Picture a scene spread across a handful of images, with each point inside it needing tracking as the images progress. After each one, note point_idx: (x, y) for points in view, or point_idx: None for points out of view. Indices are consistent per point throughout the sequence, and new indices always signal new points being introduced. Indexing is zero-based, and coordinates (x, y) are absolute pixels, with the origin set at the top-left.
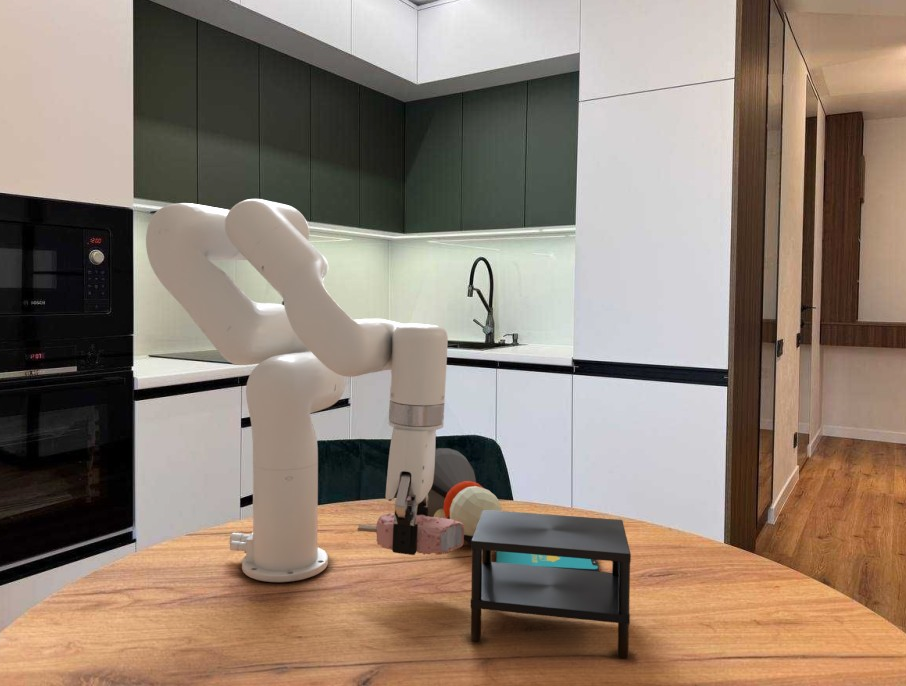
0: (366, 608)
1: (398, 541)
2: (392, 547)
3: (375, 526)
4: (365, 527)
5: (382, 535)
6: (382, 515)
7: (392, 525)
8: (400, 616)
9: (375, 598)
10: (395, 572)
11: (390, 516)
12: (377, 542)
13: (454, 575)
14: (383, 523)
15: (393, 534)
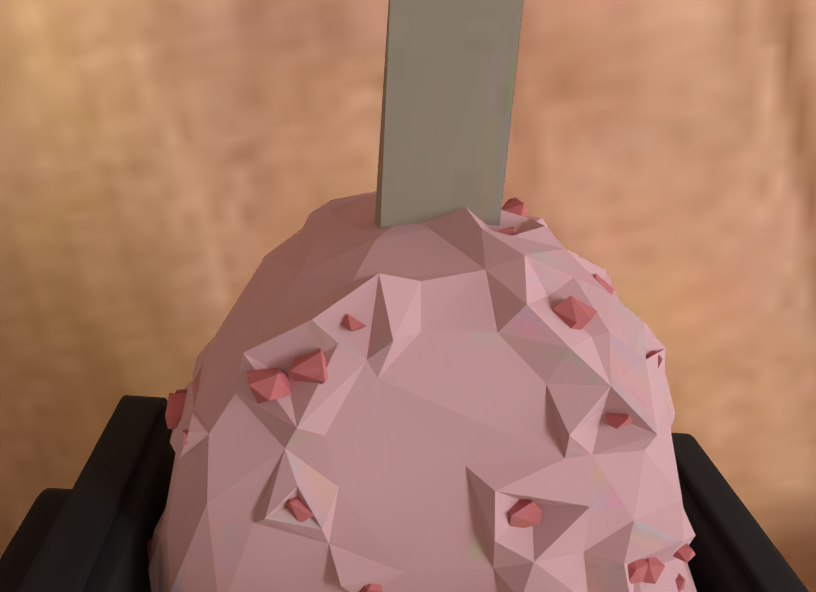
0: (66, 97)
1: (18, 536)
2: (117, 411)
3: (490, 190)
4: (419, 53)
5: (227, 318)
6: (557, 336)
7: (191, 519)
8: (17, 320)
9: (226, 133)
10: (641, 202)
11: (505, 460)
12: (313, 211)
13: None
14: (244, 392)
15: (67, 508)
